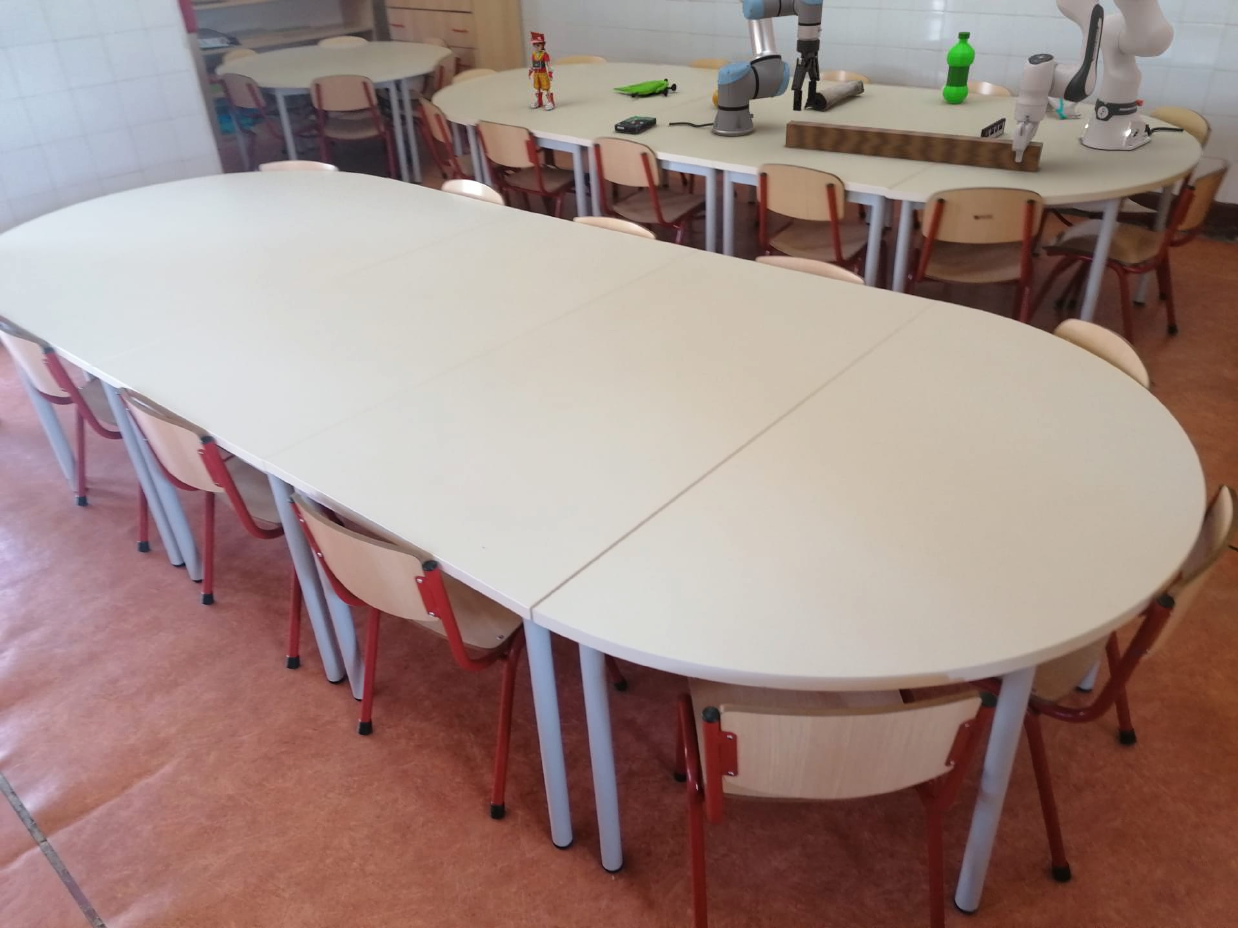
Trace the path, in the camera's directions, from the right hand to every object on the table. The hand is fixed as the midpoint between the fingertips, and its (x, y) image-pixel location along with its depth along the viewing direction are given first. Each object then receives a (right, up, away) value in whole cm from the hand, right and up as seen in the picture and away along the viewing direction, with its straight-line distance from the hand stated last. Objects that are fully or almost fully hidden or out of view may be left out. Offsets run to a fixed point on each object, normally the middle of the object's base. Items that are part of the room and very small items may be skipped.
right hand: (1020, 158), depth 282 cm
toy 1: (-159, +56, +101) cm, 197 cm away
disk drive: (-120, +34, +65) cm, 141 cm away
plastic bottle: (+6, +47, +73) cm, 87 cm away
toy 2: (-117, +69, +115) cm, 178 cm away
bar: (-31, +7, +18) cm, 36 cm away
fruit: (-84, +50, +85) cm, 130 cm away
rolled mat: (-39, +51, +82) cm, 104 cm away
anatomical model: (+36, +33, +50) cm, 70 cm away
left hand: (-63, +27, +26) cm, 73 cm away
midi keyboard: (+3, +17, +29) cm, 33 cm away
